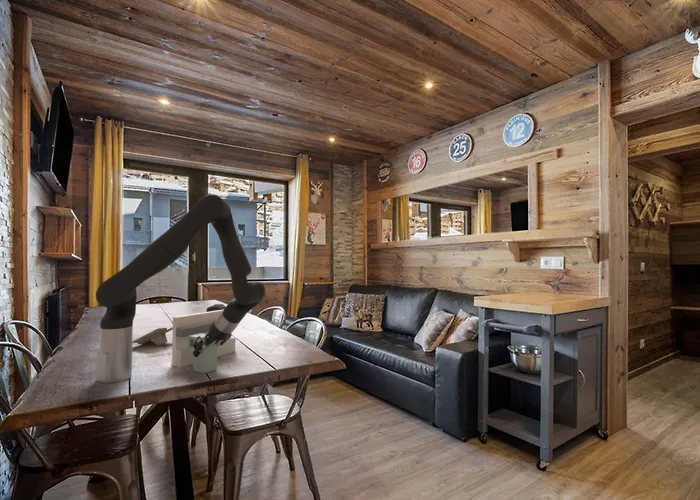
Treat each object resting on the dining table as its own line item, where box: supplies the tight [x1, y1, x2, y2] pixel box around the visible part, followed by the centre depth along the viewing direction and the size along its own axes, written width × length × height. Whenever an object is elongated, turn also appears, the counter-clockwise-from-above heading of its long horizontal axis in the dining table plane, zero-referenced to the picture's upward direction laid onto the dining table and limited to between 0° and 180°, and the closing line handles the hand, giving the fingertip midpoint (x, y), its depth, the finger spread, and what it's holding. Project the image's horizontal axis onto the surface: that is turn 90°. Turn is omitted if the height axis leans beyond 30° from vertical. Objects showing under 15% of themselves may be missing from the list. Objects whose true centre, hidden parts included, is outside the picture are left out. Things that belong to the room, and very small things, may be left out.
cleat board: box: [171, 310, 236, 368], centre depth 147 cm, size 26×6×18 cm, turn 150°
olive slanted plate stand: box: [132, 326, 173, 346], centre depth 166 cm, size 16×9×15 cm
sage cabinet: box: [188, 333, 218, 374], centre depth 133 cm, size 6×9×12 cm, turn 60°
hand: (201, 353), depth 133 cm, fingers closed on sage cabinet, 5 cm apart
